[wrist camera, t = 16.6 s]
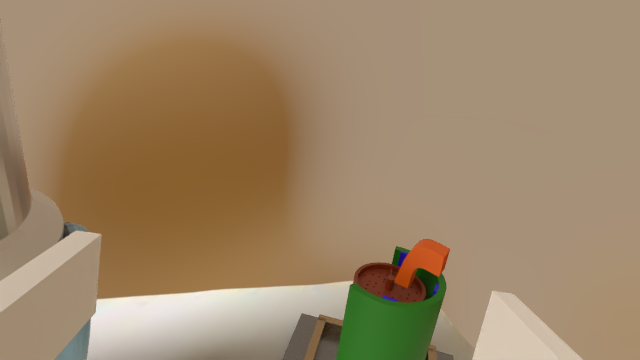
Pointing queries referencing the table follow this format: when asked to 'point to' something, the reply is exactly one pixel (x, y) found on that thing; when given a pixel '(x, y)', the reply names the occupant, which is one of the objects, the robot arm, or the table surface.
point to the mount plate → (327, 340)
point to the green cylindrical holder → (395, 305)
